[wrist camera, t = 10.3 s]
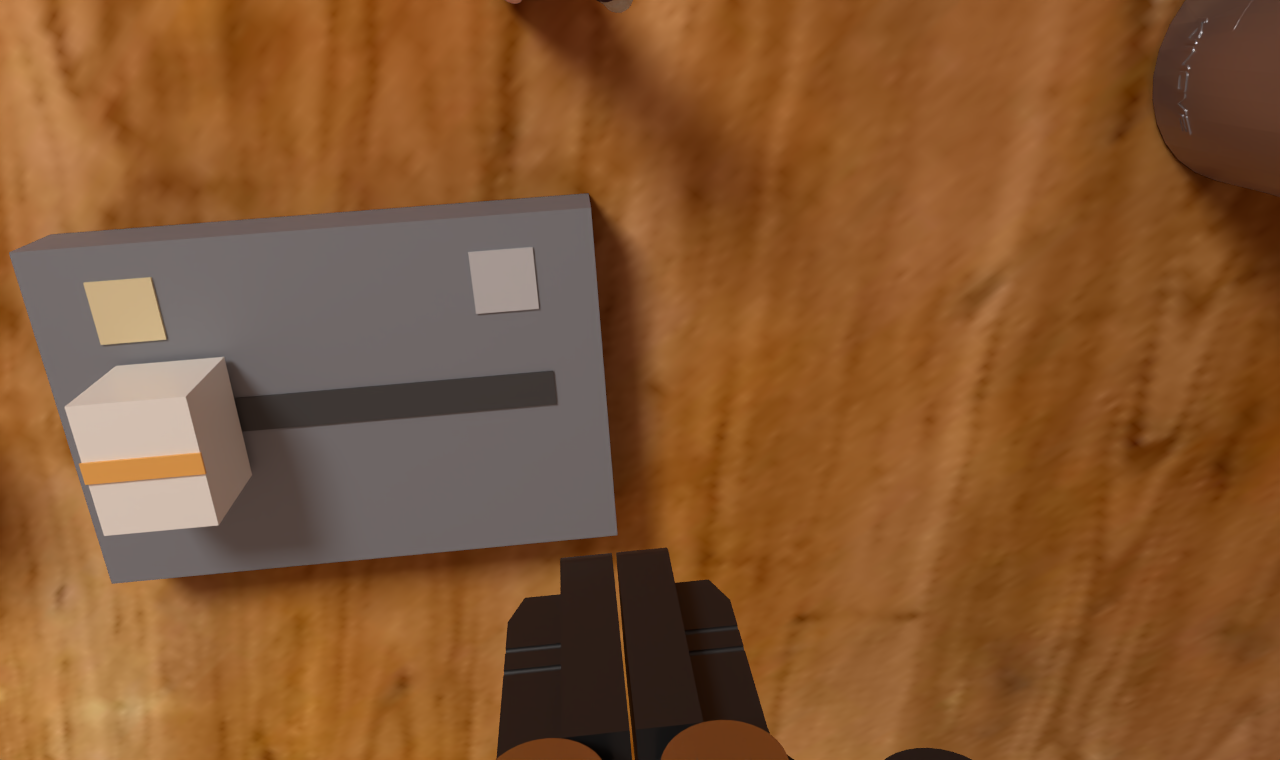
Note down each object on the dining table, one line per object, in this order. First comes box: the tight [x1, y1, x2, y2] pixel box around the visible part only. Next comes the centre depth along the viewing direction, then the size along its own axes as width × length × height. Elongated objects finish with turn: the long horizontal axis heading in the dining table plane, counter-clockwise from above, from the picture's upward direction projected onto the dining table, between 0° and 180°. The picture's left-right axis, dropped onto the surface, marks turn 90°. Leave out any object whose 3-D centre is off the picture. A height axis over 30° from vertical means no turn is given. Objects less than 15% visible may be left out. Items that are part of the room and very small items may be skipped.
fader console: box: [9, 193, 617, 584], centre depth 39 cm, size 21×14×3 cm, turn 94°
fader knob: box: [65, 357, 252, 536], centre depth 35 cm, size 4×5×4 cm
